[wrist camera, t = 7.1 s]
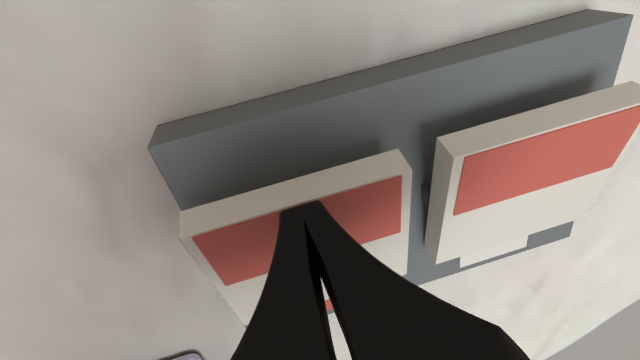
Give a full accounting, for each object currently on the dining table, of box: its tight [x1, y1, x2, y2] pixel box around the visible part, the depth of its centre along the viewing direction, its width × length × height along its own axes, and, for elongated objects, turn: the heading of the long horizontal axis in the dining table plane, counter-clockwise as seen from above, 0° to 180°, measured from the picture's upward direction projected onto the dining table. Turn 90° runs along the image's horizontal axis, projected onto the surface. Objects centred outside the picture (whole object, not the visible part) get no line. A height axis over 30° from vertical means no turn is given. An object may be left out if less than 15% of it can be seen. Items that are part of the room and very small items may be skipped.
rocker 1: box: [178, 149, 412, 326], centre depth 14 cm, size 7×8×1 cm
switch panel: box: [148, 9, 633, 329], centre depth 17 cm, size 12×19×3 cm, turn 101°
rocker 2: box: [424, 81, 640, 264], centre depth 15 cm, size 7×8×1 cm
